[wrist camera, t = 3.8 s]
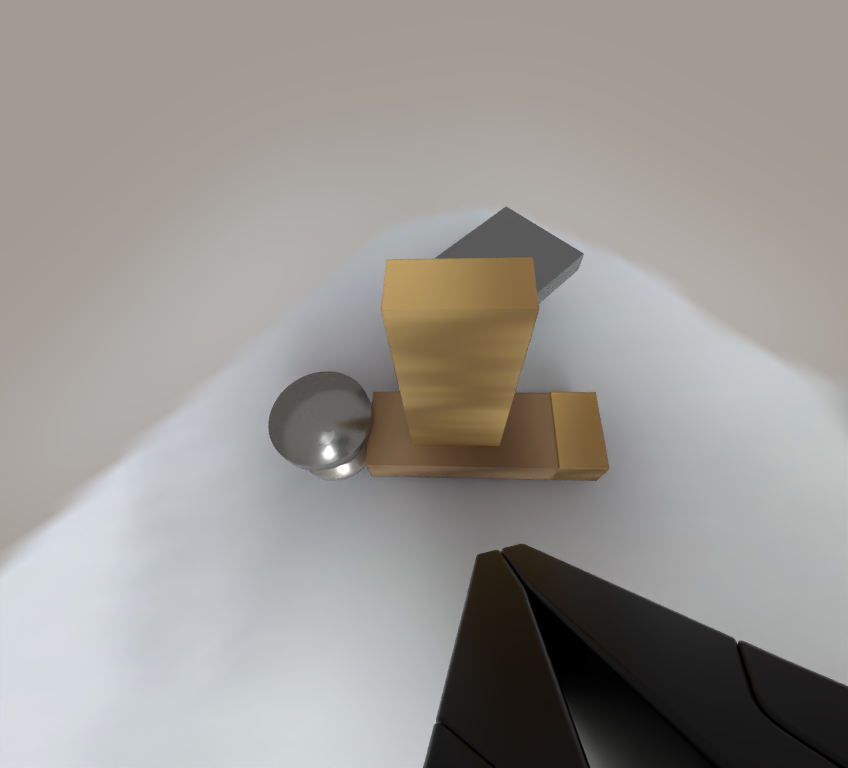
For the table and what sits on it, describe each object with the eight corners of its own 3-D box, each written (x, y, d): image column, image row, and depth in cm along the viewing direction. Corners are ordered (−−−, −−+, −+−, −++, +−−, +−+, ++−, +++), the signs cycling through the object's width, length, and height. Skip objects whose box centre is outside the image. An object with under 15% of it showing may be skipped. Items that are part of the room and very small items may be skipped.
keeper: (496, 367, 20) (505, 320, 17) (431, 314, 22) (428, 263, 19) (564, 307, 22) (583, 254, 18) (498, 262, 23) (506, 206, 20)
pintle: (362, 498, 18) (347, 478, 15) (279, 472, 18) (250, 449, 16) (393, 415, 19) (384, 384, 17) (316, 394, 20) (296, 362, 17)
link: (372, 476, 18) (293, 342, 9) (379, 408, 19) (318, 235, 10) (595, 481, 17) (750, 341, 8) (584, 410, 18) (703, 228, 10)
